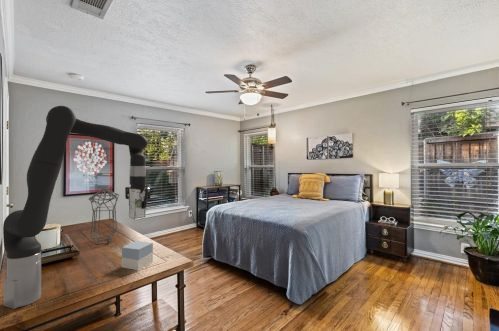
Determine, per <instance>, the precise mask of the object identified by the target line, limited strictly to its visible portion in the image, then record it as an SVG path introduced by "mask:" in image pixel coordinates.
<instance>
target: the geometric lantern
mask: <svg viewBox="0 0 499 331" xmlns="http://www.w3.org/2000/svg"><path fill="white" fill-rule="evenodd" d="M107 194H108V195H107ZM96 197H98V198H96ZM106 197H109V198H106ZM119 197H120V194H118V193H116V192H114V191H112V190H110V189H108V188H105V187H104V188H101V189H100V190H98V191H97V192H96V193H94V194H93V195H91V196H90V197H89V198H88V201H90V204H91V210H92V217H91V229H90V236H89V238H90V239H91V240H92V241H94V242H95V244H96V245H101V244H102V245H104V244H106V242H105V241H108V244H110V243H112V239H113V238H114V237H116V235H117V233H118V229H117V228H118V226H117V211H116V207H117V206H116V205H117V202H118V199H119ZM100 200H102V202H101V203H100V202H99V201H100ZM113 200H115V202H114V204H113V202H112V201H113ZM105 201H106V202H105ZM109 202H111V204H112V209H109V208H110V207H109V206H107V203H109ZM93 203H95V205H96V207H95V208H94V205H93ZM102 205H104V206H102ZM104 207H105V208H107V209H103V208H104ZM101 208H102V210H101ZM98 209H99V210H98ZM101 212H108V213H109V214H108V217H109V218H108V219H109V221H108V222H109V230H108V231H107V233H109V235H105V236H104V237H102V236H100V235H99V234H102V233H106V231H100V220H101ZM111 214H112V217H111ZM97 216H98V218H97ZM97 219H98V228H97V227H96V226H97ZM111 219H112V230H111ZM96 228H97V230H98V231H97V232H96ZM96 234H97V235H96ZM98 242H102V243H98Z"/></svg>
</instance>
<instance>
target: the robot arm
mask: <svg viewBox="0 0 499 331" xmlns="http://www.w3.org/2000/svg"><path fill="white" fill-rule="evenodd" d="M45 122H46V124H45V129H44V133H43V135H42V138H41V139H40V141H39V143H38V145H37V147H36V149H35V151H34V153H33V156H32V157H31V160H30V162H29V165H28V168H27V172H26V186H27V198H26V201H25V204H24V206H23V209H17V210H14V211H12V212H10V213H9V214H8V215H7V216H6V217H5V219H4V221H3V226H2V236H3V238H2V239H3V248H4V251H5V252H6V278H4V279H3V307H5V308H6V307H7V308H10V309H12V310H15V309H17V308H18V309H19V308H20V307H25V306H27V305H28V306H29V305H31V304H33V303H35V302H37V301H38V300H40V299H41V297H42V245H41V243H40V242H39V241H38V240H37V238H36V236H37V235H39V234H40V233H41V232H42V231H43V230H44V228H45V226H46V223H47V221H48V215H49V208H50V205H51V199H52V196H53V193H54V190H55V186H56V182H57V180H58V177H59V174H60V171H61V168H62V164H63V159H64V156H65V152H66V145H67V142H68V138H69V136H70V134H76V135H81V136H86V137H91V138H95V139H99V140H102V141H105V142H109V143H111V144H112V143H113V144H117V145H120V146H121V145H123V146H124V145H125V146H128V150H129V156H130V161H129V164H130V165H129V185H130V186H125V189H124V190H125V191H124V193H125V194H124V195H125V196H124V197H125V199H126V200H128V201H129V199H130V189H140V192H141V193H142V192H143V190H144V192H145V195H141V193H140V192H139V197H140V198H141V200H142V209H145V208H147V201H149V200H151V187H146V184H147V168H146V167H147V166H146V160H147V159H146V156H145V154H144V149H145V148H147V147H148V144H149V141H148V139H147V138H146V137H145V136H144V135H142V134H139V133H134V132H130V131H126V130H123V129H120V128H117V127H114V126H110V125H104V124H99V123H93V122H87V121H85V120H81V119H79V118H77V117H76V115H75V113H74V111H73V109H71V108H70V107H68V106H66V105H56V106H54V107H52V108H51V109H49V110H48V112H47V115H46V118H45ZM143 197H144V198H143Z"/></svg>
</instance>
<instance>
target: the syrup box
mask: <svg viewBox="0 0 499 331" xmlns="http://www.w3.org/2000/svg"><path fill="white" fill-rule="evenodd" d="M139 192H140V189H130V199H129V200H128V207H129V209H128V210H129V211H128V217H129V218H130V219H135V220H136V219H143V218H146V210H147V209H146V208H147V207H146V208H145V209H142V200H141V198H140V197H139ZM140 193H141V192H140ZM141 195H145V192H144V190H143V192H142V193H141ZM143 198H144V197H143Z"/></svg>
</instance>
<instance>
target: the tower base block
mask: <svg viewBox="0 0 499 331" xmlns="http://www.w3.org/2000/svg"><path fill="white" fill-rule="evenodd" d="M153 257H154V252H153V253H151V254H149V255H147V256H145V257H143V258H141V259H140V260H136V259H129V258H122V257H121V268H123V269H130V270H135V271H139V270H142V268H145V267H146V266H148V265H150V264H152V263H153V262H154V258H153Z"/></svg>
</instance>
